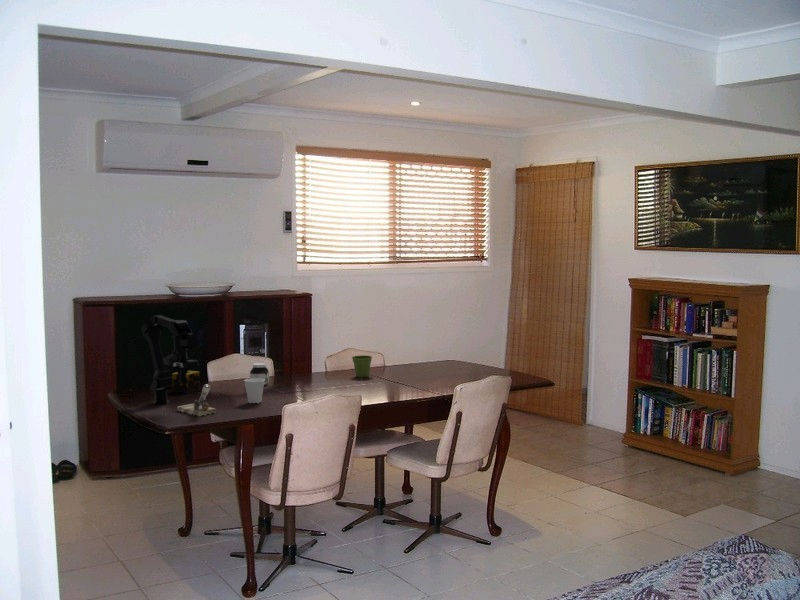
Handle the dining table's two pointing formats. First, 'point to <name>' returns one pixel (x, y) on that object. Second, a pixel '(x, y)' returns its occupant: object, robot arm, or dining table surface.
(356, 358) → the plant pot
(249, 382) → the cup
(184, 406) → the nutcracker board
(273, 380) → the dining table surface
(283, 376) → the dining table surface
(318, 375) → the dining table surface
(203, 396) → the lever
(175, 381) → the yellow black cube
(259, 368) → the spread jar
